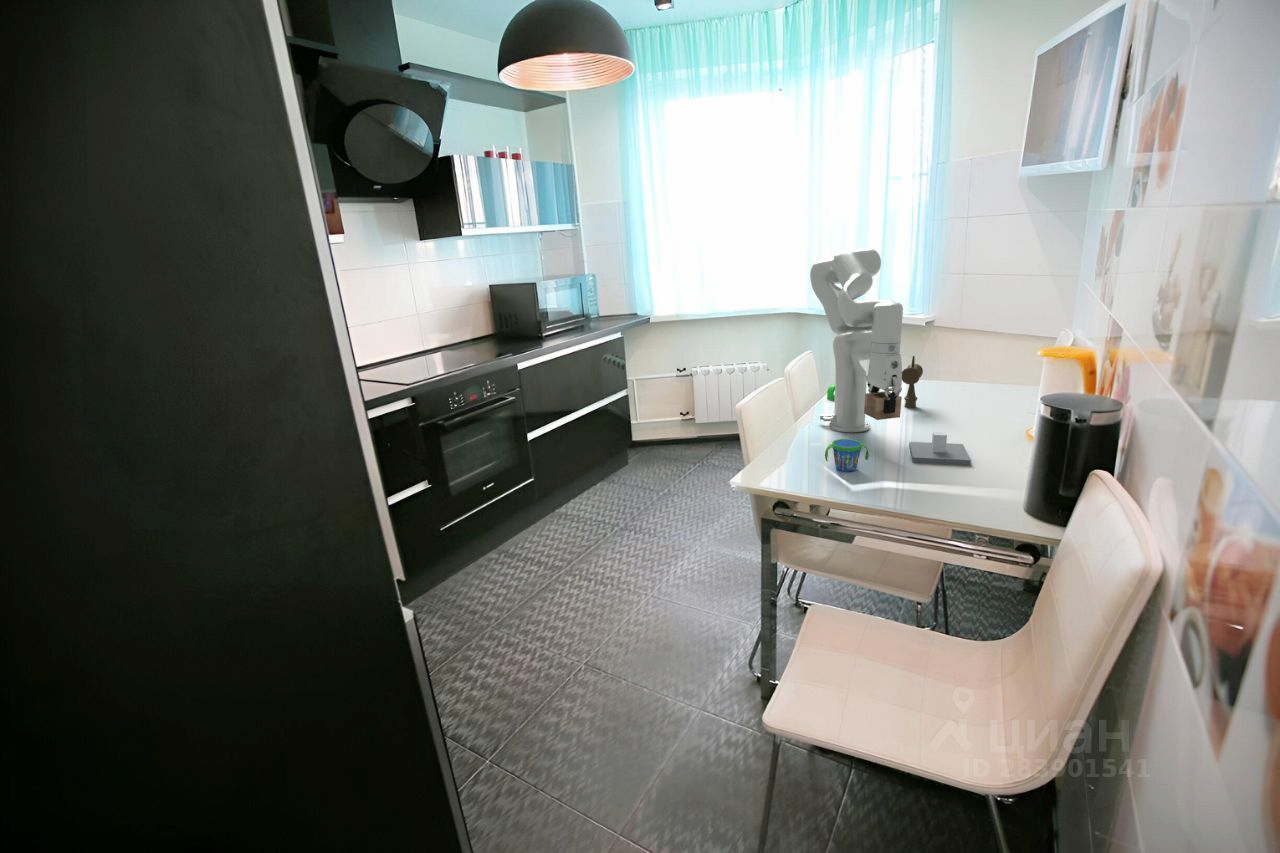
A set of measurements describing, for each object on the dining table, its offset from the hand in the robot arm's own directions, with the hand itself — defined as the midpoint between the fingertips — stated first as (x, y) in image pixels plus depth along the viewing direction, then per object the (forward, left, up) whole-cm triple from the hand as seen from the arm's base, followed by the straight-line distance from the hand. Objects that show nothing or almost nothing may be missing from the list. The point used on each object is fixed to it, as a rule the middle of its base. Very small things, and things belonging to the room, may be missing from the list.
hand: (881, 408), depth 166 cm
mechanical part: (-11, +54, -13) cm, 57 cm away
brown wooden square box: (0, 0, -2) cm, 2 cm away
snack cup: (-9, -17, -13) cm, 23 cm away
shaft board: (+15, -2, -13) cm, 20 cm away
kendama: (+11, +46, -13) cm, 50 cm away
